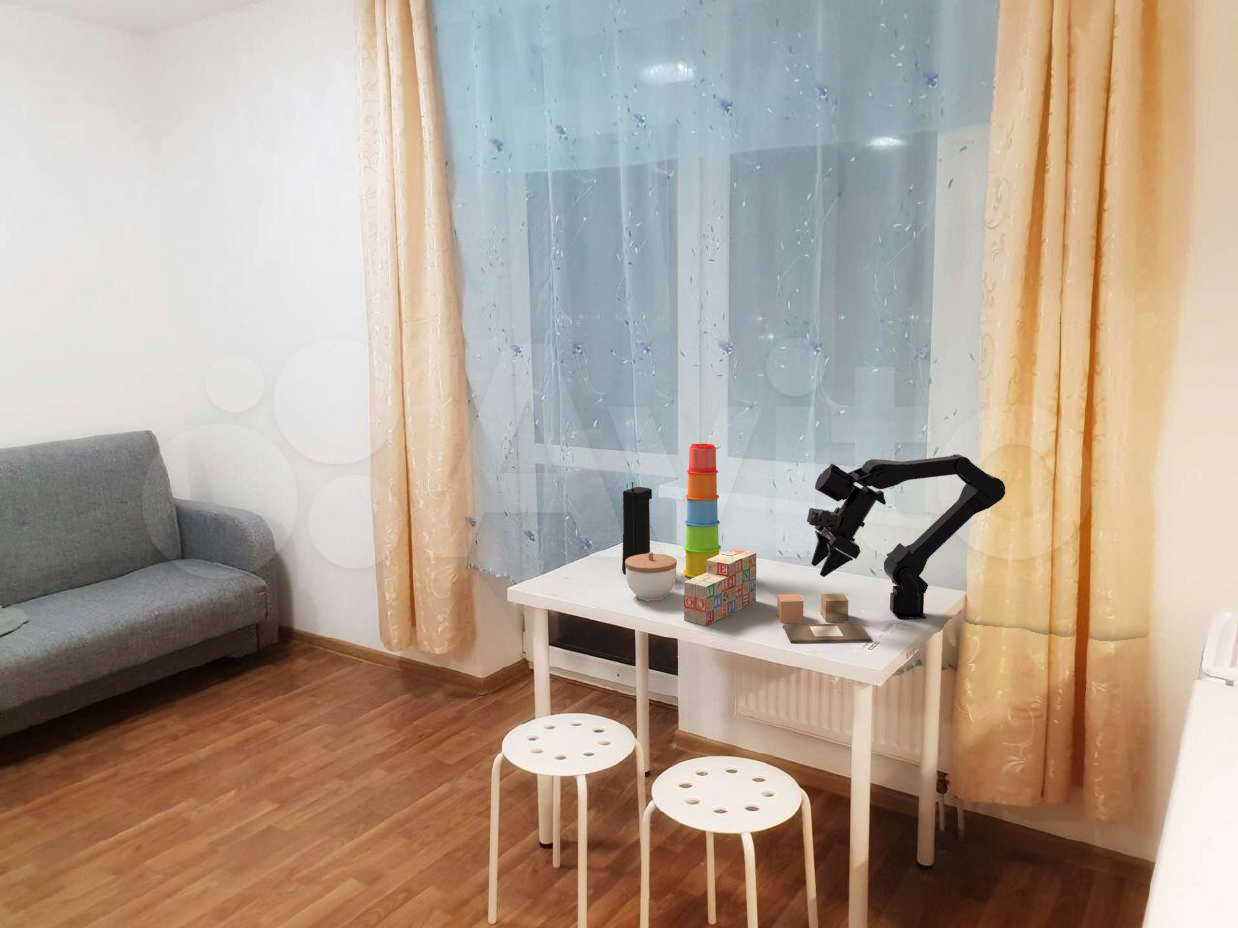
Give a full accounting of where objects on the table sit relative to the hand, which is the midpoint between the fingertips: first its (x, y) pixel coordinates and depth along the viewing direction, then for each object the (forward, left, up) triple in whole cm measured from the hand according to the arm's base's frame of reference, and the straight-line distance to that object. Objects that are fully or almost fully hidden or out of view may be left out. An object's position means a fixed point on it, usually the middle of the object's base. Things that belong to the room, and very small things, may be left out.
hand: (817, 570), depth 206 cm
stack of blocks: (+21, -6, -11) cm, 25 cm away
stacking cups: (+23, -34, -11) cm, 43 cm away
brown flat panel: (0, +11, -11) cm, 15 cm away
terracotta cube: (+6, 0, -11) cm, 13 cm away
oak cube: (-4, 0, -11) cm, 12 cm away
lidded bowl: (+37, -17, -11) cm, 42 cm away
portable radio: (+40, -38, -11) cm, 56 cm away
